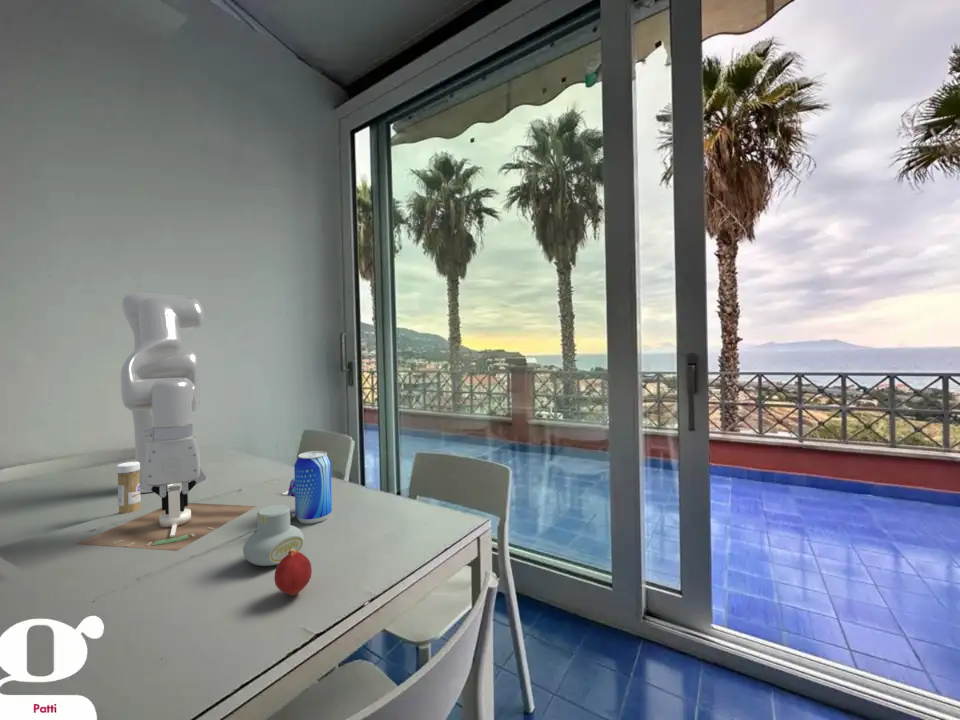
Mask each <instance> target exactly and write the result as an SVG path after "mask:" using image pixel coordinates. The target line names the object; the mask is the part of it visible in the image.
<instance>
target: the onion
mask: <svg viewBox="0 0 960 720" xmlns="http://www.w3.org/2000/svg"><path fill="white" fill-rule="evenodd" d="M288 553H289V554H288V555H286V556H285V557H284V558H283V559H282V560H281V561H280V563H279V564H278V565H276V568H275V571H274V584H275V587H277V589H278V590H279V591H281V592H283V593H284V594H287V595H289V596H290V597H295V596H296V595H298V594H299V593H300V592H301V591H302V590H303V589H305V587H307V585H308V583H309V582H310V580H311V578H312V573H313V572H312V571H313V569H312V568H313V567H312V563H311V561H310V559H309V558H308V557H307V556H306V555H305V554H303V553H301V552H300V551H299V552H297V551H296V550H295V549H291V550H290V551H289V552H288Z"/></svg>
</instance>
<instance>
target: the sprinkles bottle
mask: <svg viewBox="0 0 960 720" xmlns="http://www.w3.org/2000/svg"><path fill="white" fill-rule="evenodd" d="M139 471H140V463H139V462H136V461H130V462H129V461H128V462H123V463H119V464H117V465H116V473H117V497H118V499H117V500H118V504H117V505H118V512H119V513H118V514H129V513H133V512H136V511H140V510H141V507H142V506H141V498H142V497H141V493H140V478H139Z"/></svg>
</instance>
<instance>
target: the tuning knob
mask: <svg viewBox="0 0 960 720" xmlns="http://www.w3.org/2000/svg"><path fill="white" fill-rule="evenodd" d="M181 490H182V483H180V484H176V485H170V488H169V489H168V501H169V514H165V513H163V514H161V515H160V516H159V521H160V526H161V527H172V529H171V534H170V537H174V536H175V533H176V528H177V526H178V525H182V524H185V523H187V522H189V521H190V520H191V510H190V509H186V508H185V509H184V511H183V512H181V511H180V493H181Z"/></svg>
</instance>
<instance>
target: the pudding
mask: <svg viewBox="0 0 960 720" xmlns="http://www.w3.org/2000/svg"><path fill="white" fill-rule="evenodd" d="M282 495H285V496H290V497H294V498H295V477H293V478H292V479H291V481H290V483H289V487H288V490H287V491H285V492H283V493H282Z"/></svg>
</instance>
